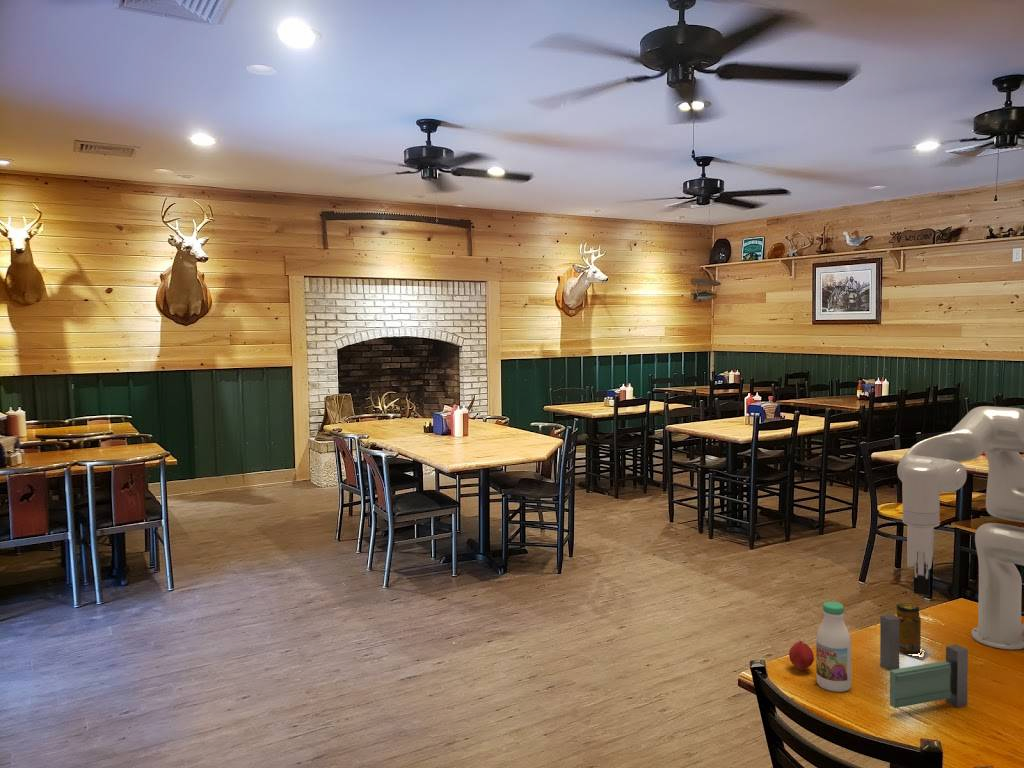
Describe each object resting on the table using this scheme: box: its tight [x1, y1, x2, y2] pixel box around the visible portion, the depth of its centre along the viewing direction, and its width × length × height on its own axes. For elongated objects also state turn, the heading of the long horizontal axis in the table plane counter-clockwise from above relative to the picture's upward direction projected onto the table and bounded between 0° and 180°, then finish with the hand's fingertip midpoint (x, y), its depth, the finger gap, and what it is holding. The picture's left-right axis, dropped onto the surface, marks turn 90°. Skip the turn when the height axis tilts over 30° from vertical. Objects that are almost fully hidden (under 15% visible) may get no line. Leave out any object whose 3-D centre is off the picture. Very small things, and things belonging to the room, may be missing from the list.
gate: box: [889, 660, 951, 709], centre depth 164 cm, size 14×2×8 cm, turn 103°
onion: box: [788, 639, 815, 672], centre depth 185 cm, size 6×6×8 cm
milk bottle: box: [815, 601, 852, 693], centre depth 176 cm, size 8×8×20 cm
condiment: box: [894, 602, 934, 660], centre depth 193 cm, size 7×8×12 cm
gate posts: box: [879, 613, 969, 708], centre depth 175 cm, size 3×22×13 cm, turn 18°
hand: (921, 593), depth 172 cm, fingers closed
